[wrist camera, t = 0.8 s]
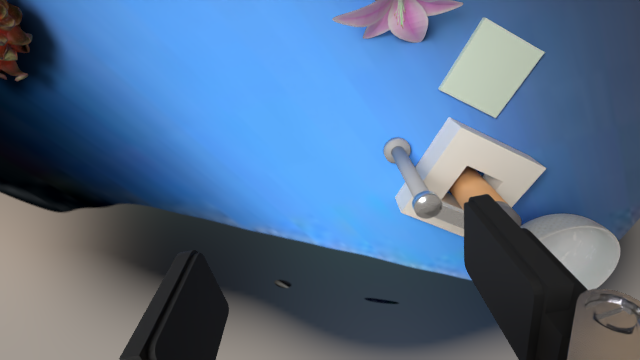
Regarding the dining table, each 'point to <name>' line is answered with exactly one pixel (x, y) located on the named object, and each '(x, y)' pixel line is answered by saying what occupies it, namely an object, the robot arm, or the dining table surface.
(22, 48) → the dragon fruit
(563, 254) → the cereal bowl
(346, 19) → the lily
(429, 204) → the grey ball-jointed lever
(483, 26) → the pad
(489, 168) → the socket block
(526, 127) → the dining table surface
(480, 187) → the plug
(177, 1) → the dining table surface
